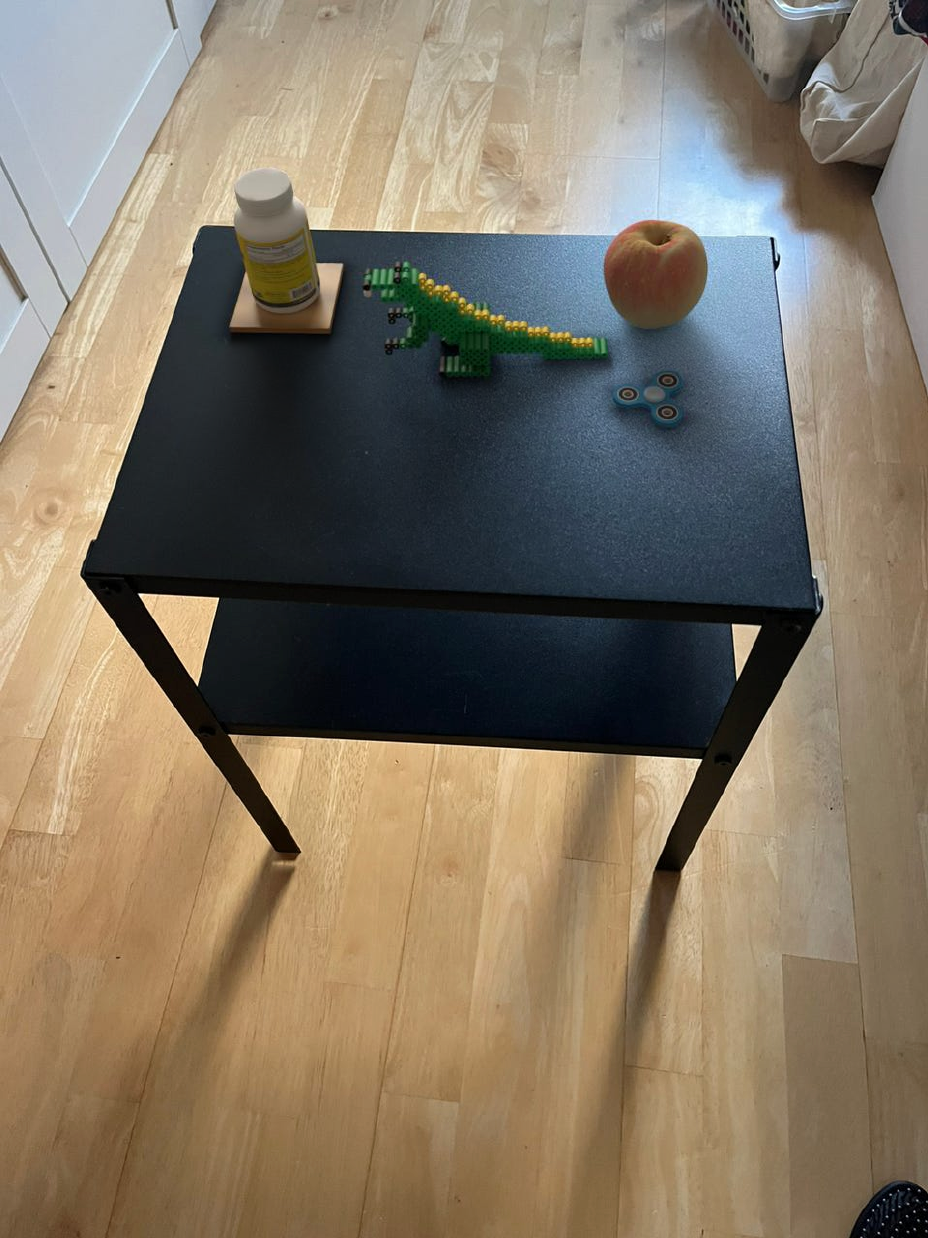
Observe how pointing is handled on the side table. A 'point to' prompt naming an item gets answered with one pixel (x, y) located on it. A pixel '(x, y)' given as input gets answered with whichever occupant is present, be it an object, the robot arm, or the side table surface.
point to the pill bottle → (275, 242)
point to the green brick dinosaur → (466, 325)
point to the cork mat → (303, 321)
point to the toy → (653, 397)
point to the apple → (655, 273)
